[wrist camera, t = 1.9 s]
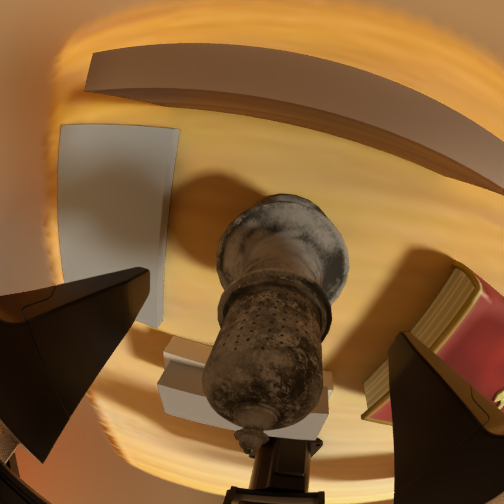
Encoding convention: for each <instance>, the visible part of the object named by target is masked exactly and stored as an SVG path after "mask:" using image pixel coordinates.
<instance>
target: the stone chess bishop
mask: <svg viewBox="0 0 504 504" xmlns="http://www.w3.org/2000/svg"><path fill="white" fill-rule="evenodd" d="M348 271H349V258H348V250H347V247H346V245H345V242H344V240H343V237H342V235H341V233H340V232H339V231H338V229H337V228H336V227H335V226H334V224H333V223H332V222H331V221H330V220H329V219H328V218H327V216H326V215H325V214H324V213H323V211H322V210H321V209H320V208H319V207H318V206H317V205H315V204H314V203H312V202H311V201H310V200H308V199H305V198H302V197H299V196H297V195H287V194H282V195H276V196H270V197H268V198H266V199H264V200H262V201H260V202H258V203H257V204H256V205H255V206H254V207H252V208H251V209H248V210H246V211H244V212H243V213H242V214H240V215H239V216H238V217H237V218H236V219H235V220H234V221H233V222H231V223H230V225H229V226H228V228H227V229H226V231H225V232H224V234H223V236H222V237H221V240H220V243H219V247H218V250H217V272H218V276H219V279H220V283H221V285H222V287H223V288H224V290H225V291H224V292H223V294H222V295H221V298H220V301H219V305H218V322H219V325H220V328H221V329H220V332H219V334H218V336H217V339H216V341H215V343H214V346H213V348H212V350H211V353H210V355H209V357H208V359H207V362H206V365H205V368H204V371H203V377H202V386H203V392H204V394H205V396H206V398H207V400H208V402H209V404H210V406H211V407H212V408H213V410H214V411H215V412H216V413H217V414H218V415H220V416H221V417H223V418H224V419H226V420H227V421H229V422H231V423H233V424H235V425H237V426H239V427H243V429H240V430H237V431H236V432H235V434H234V436H235V438H236V439H237V440H238V441H239V445H240V447H241V448H243V449H244V452H245V453H246V454H251V453H253V451H254V450H257V449H259V448H260V447H261V445H262V444H266V443H267V442H268V441H269V438H268V435H267V434H265V433H264V432H263V431H269V430H275V429H281V428H285V427H288V426H291V425H294V424H296V423H298V422H300V421H301V420H303V419H304V418H305V417H306V416H307V415H309V414H310V413H311V412H312V410H313V409H314V408H315V407H316V406H317V405H318V402H319V400H320V397H321V394H322V390H323V365H322V346H321V343H322V342H323V340H324V339H325V337H326V335H327V334H328V332H329V329H330V325H331V321H332V313H331V305H332V304H333V303H334V302H335V301H336V299H337V298H338V297H339V296H340V294H341V292H342V290H343V288H344V286H345V284H346V281H347V276H348Z"/></svg>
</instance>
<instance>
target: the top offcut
mask: <svg viewBox="0 0 504 504" xmlns="http://www.w3.org/2000/svg"><path fill="white" fill-rule="evenodd" d="M203 371H204V369H202V368H198V367H193V366H189V365H185V364H181V363H177V362H173V361H170V362H169V364H168V366H167V367H166V369H165V371H164V372H163V374H162V376H161V378H160V379H159V381H158V383H157V386H158V390H159V394H160V397H161V401H162V404H163V408H164V411H165V413H166V414H169V415H173V416H176V417H179V418H183V419H187V420H190V421H194V422H198V423H202V424H206V425H210V426H215V427H219V428H224V429H229V430H234V431H237V430H240V429H243V427H239V426H237V425H235V424H233V423H231V422H229V421H227V420H226V419H224V418H223V417H221V416H220V415H218V414H217V413H216V412H215V411H214V410H213V408H212V407H211V406H210V404H209V402H208V400H207V398H206V396H205V394H204V392H203V386H202V377H203ZM328 414H329V408H328V387H326V386H323V390H322V394H321V397H320V400H319V402H318V405H317V406H316V407H315V408H314V409H313V410H312V412H311V413H310V414H309V415H307V416H306V417H305V418H304V419H303V420H301V421H300V422H298V423H296V424H294V425H291V426H288V427H285V428H281V429H275V430H269V431H263V432H264V433H265V434H267V435H268V436H272V437H280V438H290V439H301V440H316V438H317V436H318V434H319V432H320V430H321V428H322V426H323V425H324V423H325V421H326V419H327V416H328Z"/></svg>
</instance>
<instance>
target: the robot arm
mask: <svg viewBox="0 0 504 504" xmlns="http://www.w3.org/2000/svg"><path fill="white" fill-rule="evenodd" d="M149 293H150V271H149V269H146V268H143V267H134V268H129V269H125V270H121V271H116V272H112V273H107V274H103V275H99V276H94V277H90V278H85V279H81V280H77V281H72V282H68V283H64V284H60V285H57V286H56V285H55V286H51V287H47V288H42V289H38V290H33V291H27V292H22V293H15V294H9V295H4V296H0V504H51V503H50V502H49V501H48V500H46V499H45V498H44V497H42V496H41V495H40V494H39V493H37V492H36V491H35V490H33V489H32V488H31V487H30V486H29V485H27V484H26V483H25V482H24V481H23V480H22V479H20V475H19V471H18V466H17V461H16V456H15V453H14V451H15V450H16V449H17V447H18V446H19V445H21V446H22V447H23V448H24V449H25V450H26V451H27V452H29V453H30V454H31V455H32V456H33V457H35V458H36V459H37V460H38V461H40V462H41V463H42V464H43V463H44V461H45V460H46V458H47V456H48V454H49V453H50V451H51V449H52V448H53V446H54V444H55V442H56V441H57V439H58V437H59V436H60V434H61V432H62V431H63V429H64V427H65V425H66V424H67V422H68V421H69V419H70V417H71V415H72V414H73V412H74V411H75V409H76V407H77V406H78V404H79V403H80V401H81V399H82V398H83V397H84V395H85V393H86V392H87V390H88V389H89V387H90V386H91V384H92V383H93V381H94V380H95V378H96V377H97V375H98V374H99V372H100V371H101V369H102V368H103V366H104V365H105V363H106V362H107V360H108V359H109V358H110V356H111V355H112V353H113V352H114V350H115V349H116V347H117V346H118V345H119V343H120V342H121V340H122V339H123V338H124V336H125V335H126V333H127V332H128V331H129V329H130V328H131V326H132V324H133V323H134V321H135V319H136V317H137V315H138V314H139V312H140V310H141V308H142V306H143V305H144V303H145V301H146V299H147V298H148V296H149ZM388 367H389V393H390V402H391V412H392V424H393V439H394V471H395V480H394V492H395V493H394V504H504V412H502V411H501V410H500V409H499V408H497V407H496V406H495V405H494V404H492V403H491V402H490V401H489V400H488V399H486V398H485V397H484V396H483V395H482V394H481V393H480V392H478V391H477V390H476V389H475V388H474V387H473V386H472V385H470V384H469V383H468V382H467V381H466V380H465V379H464V378H463V377H462V376H460V375H459V374H458V373H457V372H456V371H455V370H454V369H452V368H451V367H450V366H449V365H448V364H447V363H445V362H444V361H443V360H442V359H441V358H440V357H438V356H437V355H436V354H435V353H434V352H433V351H431V350H430V349H429V348H428V347H427V346H425V345H424V344H423V343H422V342H421V341H420V340H418V339H417V338H416V337H415V336H414V335H412V334H411V333H409V332H403V331H401V332H399V333H398V335H397V336H396V338H395V340H394V342H393V343H392V345H391V347H390V349H389V351H388ZM268 438H269V441H268V442H267V443H266V444H262V445H261V447H260V448H259V449H257V450H254V451H253V453H251V454H249V457H250V458H254V459H255V461H254V466H253V471H252V475H251V480H250V485H249V489H244V488H238V487H235V486H231V489H230V490H227V492H226V496H225V500H224V503H223V504H325V492H324V491H320V492H308V488H309V475H310V460H311V457H312V456H313V455H314V454H315V453H316V452H317V451H318V450H319V449H320V448H321V447H322V445H323V441H322V440H317V439H316V440H301V439H290V438H280V437H272V436H268Z"/></svg>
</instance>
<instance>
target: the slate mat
mask: <svg viewBox="0 0 504 504" xmlns="http://www.w3.org/2000/svg"><path fill="white" fill-rule="evenodd" d="M179 134H180V129H171V128H161V127H148V126H132V125H105V124H76V125H61V134H60V144H59V157H58V182H57V203H58V228H59V241H60V252H61V260H62V268H63V276H64V282H65V283H68V282H72V281H77V280H81V279H85V278H90V277H94V276H99V275H103V274H107V273H112V272H116V271H121V270H125V269H129V268H134V267H143V268H146V269H149V271H150V293H149V296H148V298H147V299H146V301H145V303H144V305H143V306H142V308H141V310H140V312H139V314H138V315H137V317H136V319H135V320H136V321H138V322H141V323H144V324H146V325H149V326H152V327H155V328H158V326H159V325H160V324H161V322H162V321H163V290H164V268H165V252H166V238H167V227H168V216H169V206H170V197H171V189H172V181H173V173H174V166H175V159H176V153H177V146H178V140H179Z"/></svg>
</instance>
